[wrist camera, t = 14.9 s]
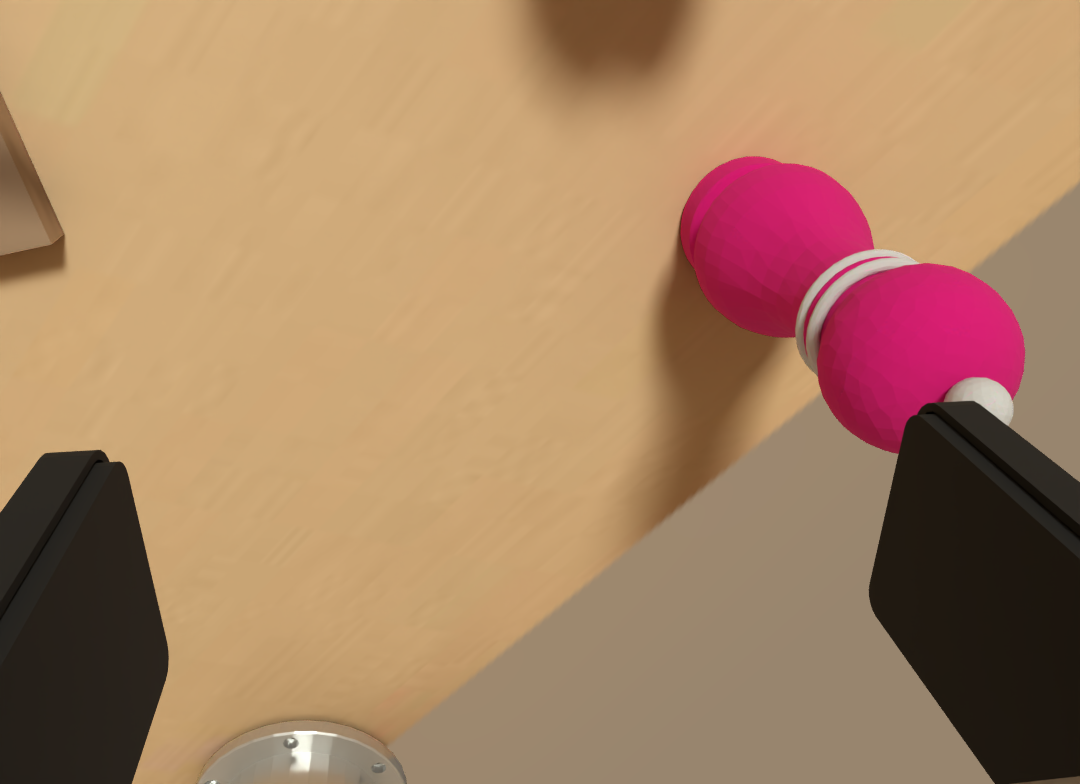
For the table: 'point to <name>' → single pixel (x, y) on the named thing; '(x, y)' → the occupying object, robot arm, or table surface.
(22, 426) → the table surface
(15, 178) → the walnut board
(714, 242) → the pepper mill
